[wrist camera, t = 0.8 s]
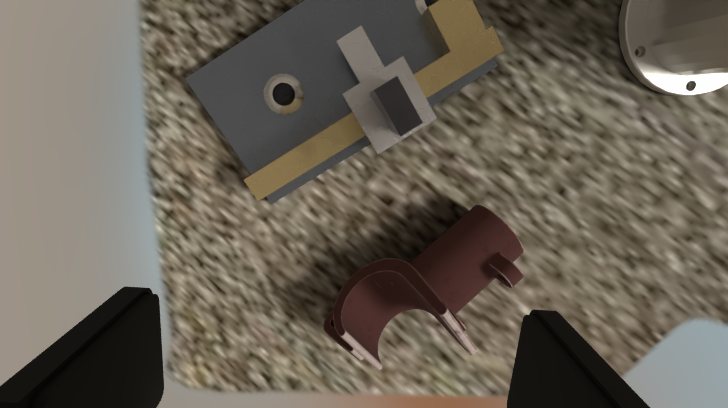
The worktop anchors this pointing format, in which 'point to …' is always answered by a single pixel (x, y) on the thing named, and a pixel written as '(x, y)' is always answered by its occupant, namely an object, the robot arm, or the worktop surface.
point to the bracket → (426, 283)
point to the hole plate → (309, 76)
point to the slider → (383, 94)
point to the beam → (460, 56)
